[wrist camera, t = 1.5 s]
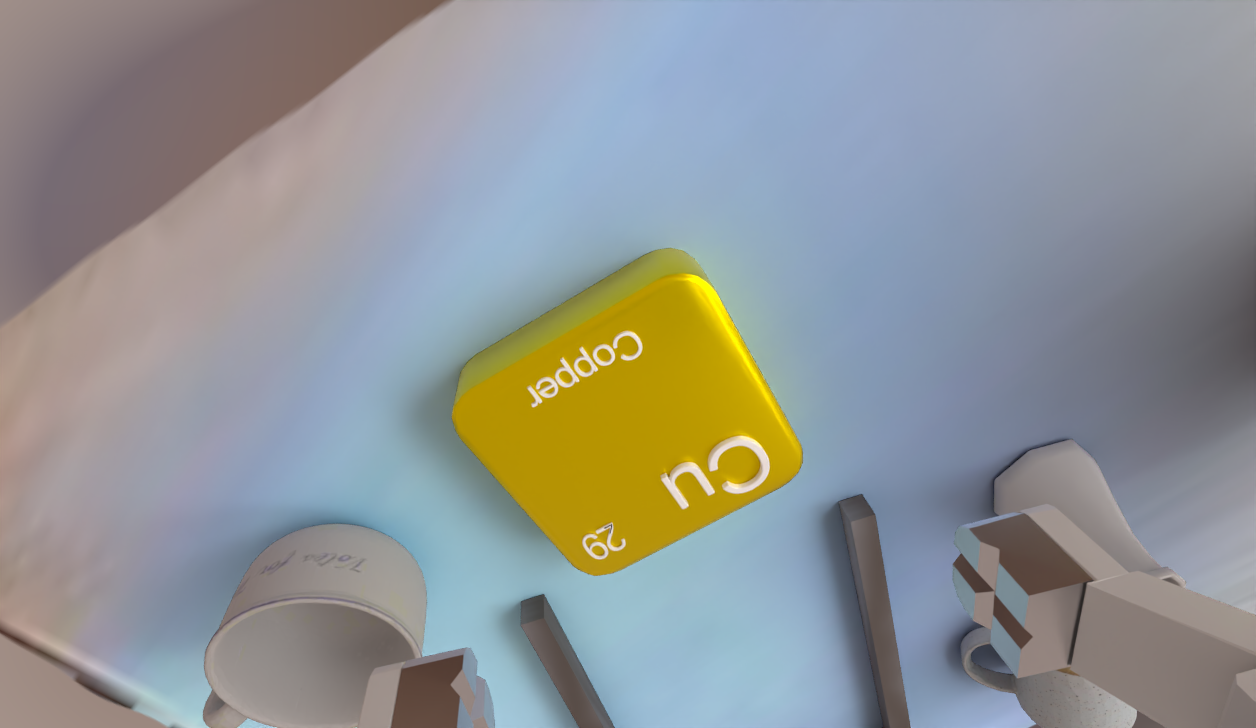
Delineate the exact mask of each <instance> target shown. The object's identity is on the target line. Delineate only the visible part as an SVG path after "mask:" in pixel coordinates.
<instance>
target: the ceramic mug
mask: <svg viewBox="0 0 1256 728" xmlns="http://www.w3.org/2000/svg"><path fill="white" fill-rule="evenodd" d="M990 640H991V630H990V629H988V628H986V627H983V628H982V627H980V628H978V629H975V630H973V631H971V632H969V633H968V634H967V635H966V636H965V637H964V638H963V640H962V642H961V657H962V665H963V668H964V670H965V672H966V673H967V674H968V675H969V676H970V677H971V678H972V679H974V680H975V681H977V682H979V683H981V684H983V685H985V686H987V687H990V688H993V689H996V690H999V691H1003V692H1009V693H1015V694H1016V696H1017V699H1018V701H1019V703H1020V705H1021V707H1022V708H1023V710H1024V711H1025V712H1026V713H1027V714H1028V716H1029V717H1030V718H1031V719H1032V720H1033V721H1034V722H1035V723H1037V724H1038V725H1039V726H1041V727H1042V728H1132V726H1133V724H1134V722H1135V720H1136V716H1137V710H1136V709H1134V708H1133V707H1131V706H1129V705H1128V704H1126V703H1124V702H1123V701H1121V700H1120V699H1118V698H1116V697H1115V696H1113V695H1111V694H1110V693H1108V692H1106V691H1105V690H1103V689H1101V688H1100V687H1098V686H1096V685H1095V684H1093V683H1091V682H1090V681H1088V680H1087V679H1085V678H1083V677H1082V676H1080V675H1078V674H1077V673H1075V672H1073V671H1072V670H1070V668H1071V667H1066V668H1062V669H1057V670H1053V671H1048V672H1044V673H1040V674H1035V675H1031V676H1026V677H1022V678H1016V676H1015V675H1014V674H1006V673H1001V672H996V671H992V670H989V669H986V668H983V667H981V666H979V665H977V664H976V663H974V662H973V661H972V659H971V653H972V651H973V650H974V649H975V648H977V647H979V646H982V645H987V644H990Z"/></svg>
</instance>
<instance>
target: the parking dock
mask: <svg viewBox="0 0 1256 728" xmlns="http://www.w3.org/2000/svg"><path fill="white" fill-rule="evenodd" d="M839 506H840V511H841V516H842V521H843V526H844V531H845V536H846V541H847V546H848V551H849V556H850V561H851V566H852V571H853V576H854V581H855V586H856V591H857V596H858V601H859V606H860V611H861V617H862V622H863V627H864V632H865V637H866V642H867V647H868V652H869V657H870V662H871V667H872V672H873V677H874V682H875V687H876V692H877V697H878V702H879V707H880V712H881V717H882V722H883V728H911V727H910V721H909V715H908V709H907V703H906V697H905V691H904V685H903V679H902V673H901V667H900V661H899V655H898V649H897V643H896V637H895V631H894V625H893V619H892V613H891V607H890V601H889V595H888V589H887V583H886V577H885V571H884V565H883V558H882V552H881V546H880V540H879V534H878V528H877V522H876V516H875V513H874V512H873V510H872V509H871V507H870V506H869V504H868V503H867V501H866V500H865V498H864V497H863V495H858V496H855V497H852V498H849V499H846V500H843V501H839ZM521 627H522V628H523V630H524V632H525V634H526V635H527V637H528V639H529V641H530V642H531V644H532V646H533V648H534V649H535V651H536V653H537V655H538V656H539V658H540V660H541V661H542V663H543V665H544V667H545V668H546V670H547V672H548V674H549V675H550V677H551V679H552V681H553V682H554V684H555V686H556V688H557V689H558V691H559V693H560V695H561V696H562V698H563V700H564V702H565V703H566V705H567V707H568V709H569V710H570V712H571V714H572V716H573V717H574V719H575V721H576V723H577V724H578V726H579V728H615V727H614V726H613V724H612V722H611V720H610V718H609V716H608V714H607V712H606V710H605V709H604V707H603V705H602V703H601V701H600V699H599V697H598V695H597V693H596V692H595V690H594V688H593V686H592V684H591V682H590V680H589V678H588V677H587V675H586V673H585V671H584V669H583V667H582V665H581V663H580V661H579V660H578V658H577V656H576V654H575V652H574V650H573V648H572V646H571V644H570V643H569V641H568V639H567V637H566V635H565V633H564V631H563V629H562V627H561V626H560V624H559V622H558V620H557V618H556V616H555V614H554V612H553V610H552V609H551V607H550V605H549V603H548V601H547V599H546V597H545V595H544V594H543V595H540V596H537V597H534V598H531V599H527V600H524V601H522V602H521Z"/></svg>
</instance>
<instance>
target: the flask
mask: <svg viewBox="0 0 1256 728" xmlns="http://www.w3.org/2000/svg"><path fill="white" fill-rule="evenodd" d="M1045 504H1049V505H1051V506H1054V507H1056V508H1057V509H1058V510H1059V511H1060V512H1061V513H1063V514H1064V515H1065V516H1066V517H1067V518H1068V519H1069V520H1070V521H1072V522H1073V523H1074V524H1075V525H1076V526H1077V527H1078V528H1079V529H1081V530H1082V531H1083V532H1084V533H1085V534H1086V535H1087V536H1088V537H1090V538H1091V539H1092V540H1093V541H1094V542H1095V543H1096V544H1097V545H1098V546H1100V547H1101V548H1102V549H1103V550H1104V551H1105V552H1106V553H1107V554H1109V555H1110V556H1111V557H1112V558H1113V559H1114V560H1115V561H1116V562H1118V563H1119V564H1120V565H1121V566H1122V567H1123V568H1124V569H1125V570H1126V571H1128V572H1134V571H1140V572H1143V573H1146V574H1148V575H1151V576H1154V577H1156V578H1159V579H1161V580H1164V581H1167V582H1169V583H1172V584H1175V585H1177V586H1180V587H1183V588H1185V586H1186V581H1185V580H1184V579H1182V578H1181V577H1180V576H1179V575H1178V574H1176V573H1175V572H1174V571H1173V570H1172V569H1170V568H1168V567H1164V568H1162V567H1161V566H1160V565H1159V564H1158V563H1157V562H1156V561H1155V560H1154V559H1153V558H1152V557H1151V556H1150V555H1149V553H1148V552H1147V551H1146V549H1145V548H1144V547H1143V546H1142V544H1141V543H1140V542H1139V540H1138V539H1137V538H1136V537H1135V535H1134V534H1133V532H1132V531H1131V529H1130V527H1129V525H1128V523H1127V521H1126V519H1125V518H1124V516H1123V514H1122V512H1121V510H1120V508H1119V506H1118V505H1117V503H1116V501H1115V499H1114V497H1113V495H1112V493H1111V491H1110V489H1109V487H1108V485H1107V482H1106V480H1105V478H1104V476H1103V474H1102V472H1101V470H1100V468H1099V466H1098V464H1097V463H1096V461H1095V459H1094V458H1093V457H1092V456H1091V455H1089V454H1088V453H1087V452H1086V451H1085V450H1084V449H1083V448H1082V447H1080V446H1079V445H1078V444H1077V443H1076V442H1075V441H1074V440H1073V439H1070V440H1066V441H1062V442H1059V443H1055V444H1051V445H1048V446H1044V447H1040V448H1037V449H1033V450H1029V451H1028V452H1027V453H1026V454H1024V455H1023V456H1022V457H1021V458H1020V459H1019V460H1017V461H1016V462H1015V463H1014V464H1013V465H1011V466H1010V467H1009V468H1008V469H1007V470H1006V471H1004V472H1003V473H1002V474H1001V475H1000V476H998V477H997V478H996V479H995V480H994V512H995V513H996V514H998V515H999V516H1000V515H1004V514H1008V513H1012V512H1018V511H1021V510H1025V509H1029V508H1033V507H1037V506H1041V505H1045Z"/></svg>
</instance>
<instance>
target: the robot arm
mask: <svg viewBox="0 0 1256 728" xmlns="http://www.w3.org/2000/svg"><path fill="white" fill-rule="evenodd" d="M954 545H955V546H956V547H957V548H958V550H959V551H960V552H961V554H960V555H959V557H958V558H957V559H956V561H955V562H954V563H953V583H954V586H955V590H956V593H957V596H958V598H959V600H960V602H961V604H962V606H963V607H964V609H965V610H966V612H967V613H968V615H969V616H970V617H971V619H972V620H973V621H974V622H976V623H978V624H980V625H982V626H984V627H986V628H988V629H990V630H991V640H990V644H991V645H992V646H993V648H994V649H995V650H996V652H997V653H998V654H999V655H1000V657H1001V658H1002V659H1003V661H1004V662H1005V663H1006V665H1007V666H1008V667H1009V669H1010V670H1011V671H1012V672H1013V674H1014V675H1015V676H1016V678H1022V677H1026V676H1031V675H1035V674H1040V673H1044V672H1048V671H1053V670H1057V669H1062V668H1066V667H1071V668H1070V670H1072V671H1073V672H1075V673H1077V674H1078V675H1080V676H1082V677H1083V678H1085V679H1087V680H1088V681H1090V682H1091V683H1093V684H1095V685H1096V686H1098V687H1100V688H1101V689H1103V690H1105V691H1106V692H1108V693H1110V694H1111V695H1113V696H1115V697H1116V698H1118V699H1120V700H1121V701H1123V702H1124V703H1126V704H1128V705H1129V706H1131V707H1133V708H1134V709H1136V710H1138V711H1139V712H1141V713H1143V714H1144V715H1146V716H1148V717H1149V718H1151V719H1153V720H1154V721H1156V722H1157V723H1159V724H1161V725H1163V726H1164V727H1166V728H1256V615H1254V614H1251V613H1249V612H1246V611H1243V610H1241V609H1238V608H1235V607H1233V606H1230V605H1227V604H1225V603H1222V602H1220V601H1217V600H1214V599H1212V598H1209V597H1206V596H1204V595H1201V594H1198V593H1196V592H1193V591H1190V590H1188V589H1185V588H1183V587H1180V586H1177V585H1175V584H1172V583H1169V582H1167V581H1164V580H1161V579H1159V578H1156V577H1154V576H1151V575H1148V574H1146V573H1143V572H1140V571H1134V572H1128V571H1126V570H1125V569H1124V568H1123V567H1122V566H1121V565H1120V564H1119V563H1118V562H1116V561H1115V560H1114V559H1113V558H1112V557H1111V556H1110V555H1109V554H1107V553H1106V552H1105V551H1104V550H1103V549H1102V548H1101V547H1100V546H1098V545H1097V544H1096V543H1095V542H1094V541H1093V540H1092V539H1091V538H1090V537H1088V536H1087V535H1086V534H1085V533H1084V532H1083V531H1082V530H1081V529H1079V528H1078V527H1077V526H1076V525H1075V524H1074V523H1073V522H1072V521H1070V520H1069V519H1068V518H1067V517H1066V516H1065V515H1064V514H1063V513H1061V512H1060V511H1059V510H1058V509H1057V508H1056V507H1054V506H1051V505H1049V504H1045V505H1041V506H1037V507H1033V508H1029V509H1025V510H1021V511H1018V512H1012V513H1008V514H1004V515H1000V516H996V517H992V518H989V519H985V520H981V521H977V522H973V523H969V524H965V525H961V526H959V527H958V529H957V530H956V532H955V539H954ZM357 728H495V719H494V710H493V702H492V698H491V694H490V691H489V688H488V685H487V683H486V681H485V679H483V678H481V677H479V676H477V660H476V658H475V655H474V653H473V651H472V649H471V648H462V649H457V650H453V651H448V652H444V653H439V654H435V655H430V656H425V657H421V658H416V659H412V660H407V661H404V662H400V663H396V664H391V665H387V666H382V667H378V668H375V669H374V671H373V672H372V674H371V676H370V677H369V679H368V684H367V688H366V692H365V697H364V701H363V705H362V709H361V714H360V718H359V722H358V727H357Z"/></svg>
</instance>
